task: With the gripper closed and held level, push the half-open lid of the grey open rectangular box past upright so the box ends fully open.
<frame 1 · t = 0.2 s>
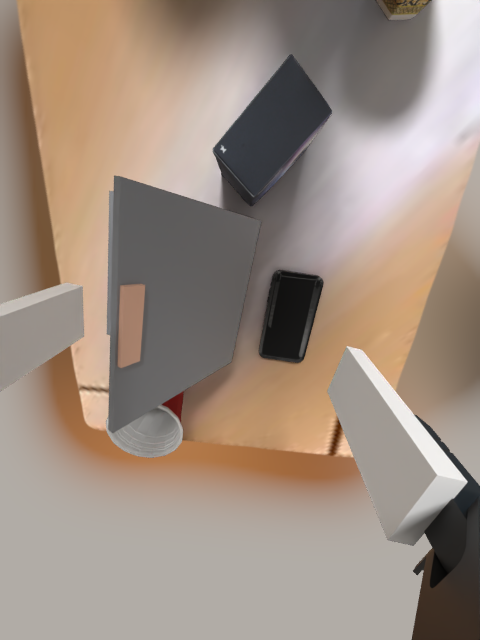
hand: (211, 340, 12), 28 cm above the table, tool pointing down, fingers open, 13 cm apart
plastic cup: (170, 383, 46), on the table
small box: (264, 161, 34), on the table
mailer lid: (198, 308, 24), point 16 cm above the table, hinge at 60.0°
grey open rectangular box: (189, 273, 39), on the table
phone: (288, 317, 41), on the table
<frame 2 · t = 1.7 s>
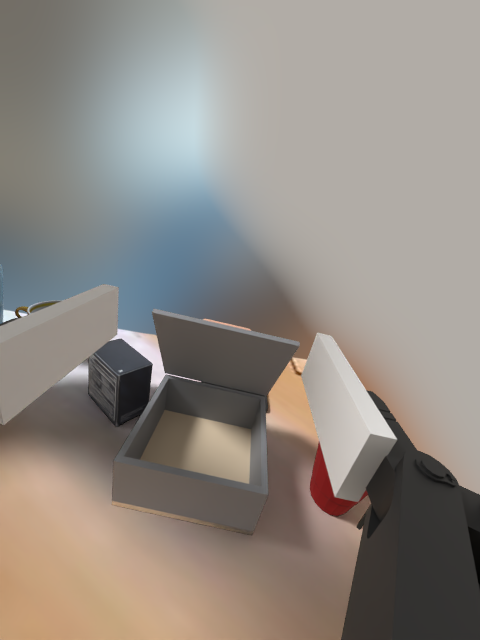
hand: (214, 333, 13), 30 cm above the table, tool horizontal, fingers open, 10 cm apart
plastic cup: (328, 495, 38), on the table
small box: (118, 402, 46), on the table
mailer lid: (220, 358, 37), point 16 cm above the table, hinge at 60.0°
grey open rectangular box: (197, 459, 39), on the table
ceramic cup: (53, 349, 56), on the table
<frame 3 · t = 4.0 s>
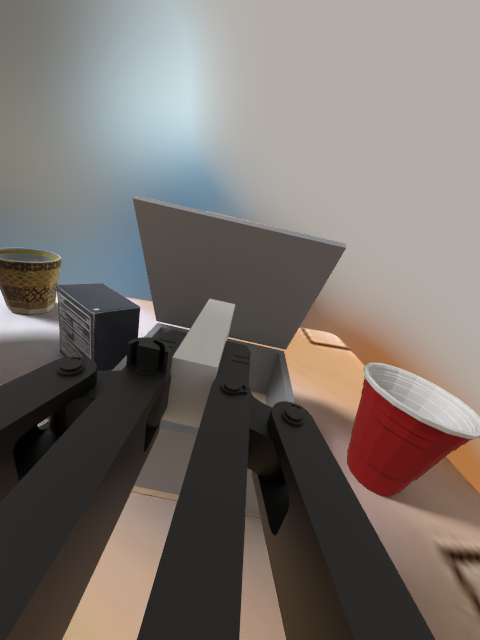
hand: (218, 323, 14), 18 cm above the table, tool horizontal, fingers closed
plastic cup: (371, 471, 29), on the table
small box: (98, 362, 37), on the table
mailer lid: (229, 289, 28), point 16 cm above the table, hinge at 60.0°
grey open rectangular box: (199, 426, 30), on the table
ceramic cup: (22, 307, 46), on the table
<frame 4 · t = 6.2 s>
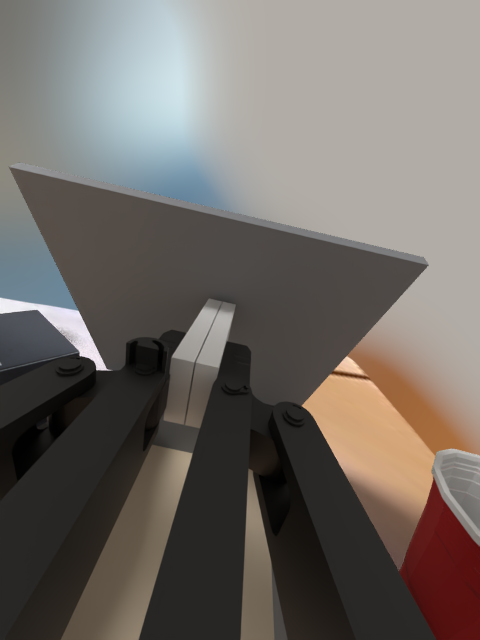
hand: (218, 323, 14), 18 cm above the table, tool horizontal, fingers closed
plastic cup: (436, 623, 18), on the table
small box: (29, 423, 26), on the table
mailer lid: (210, 330, 17), point 16 cm above the table, hinge at 63.7°, touching gripper
grey open rectangular box: (163, 548, 19), on the table
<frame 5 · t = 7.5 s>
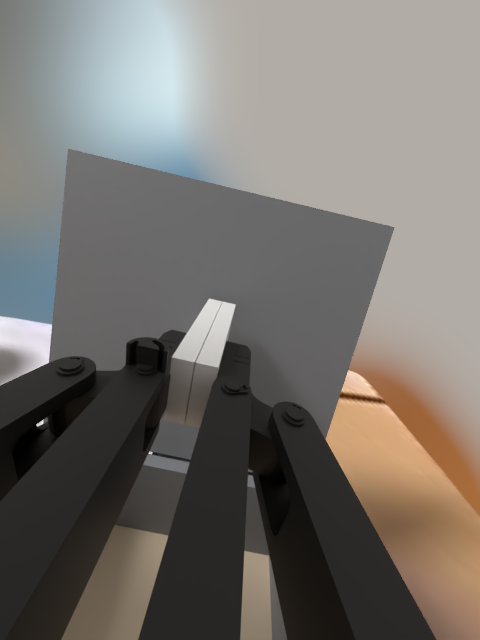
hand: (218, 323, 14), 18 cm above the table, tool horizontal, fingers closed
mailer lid: (205, 334, 16), point 17 cm above the table, hinge at 101.9°, touching gripper
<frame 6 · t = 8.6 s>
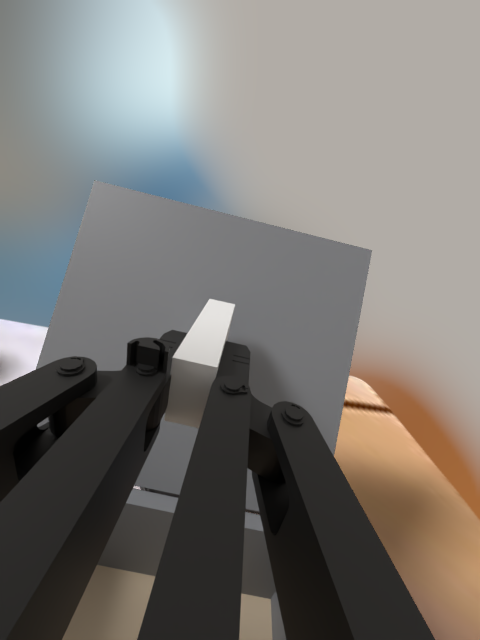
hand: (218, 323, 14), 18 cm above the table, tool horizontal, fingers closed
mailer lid: (204, 346, 16), point 16 cm above the table, hinge at 118.2°, touching gripper
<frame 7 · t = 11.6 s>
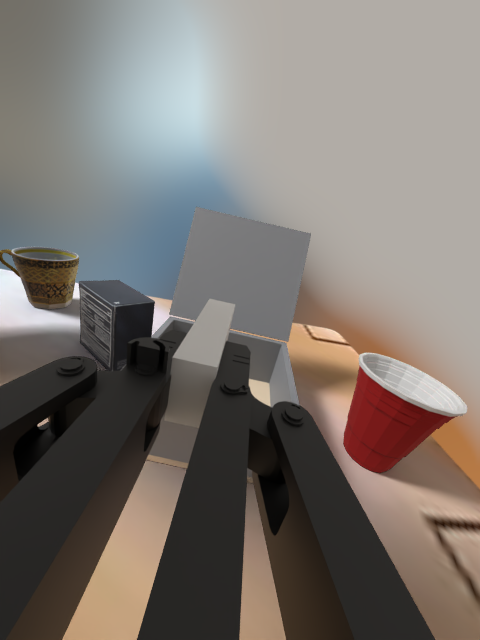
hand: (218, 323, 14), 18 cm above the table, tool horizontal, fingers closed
plastic cup: (365, 452, 32), on the table
small box: (115, 353, 40), on the table
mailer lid: (241, 274, 38), point 16 cm above the table, hinge at 116.3°
grey open rectangular box: (209, 409, 33), on the table
ceramic cup: (42, 302, 50), on the table
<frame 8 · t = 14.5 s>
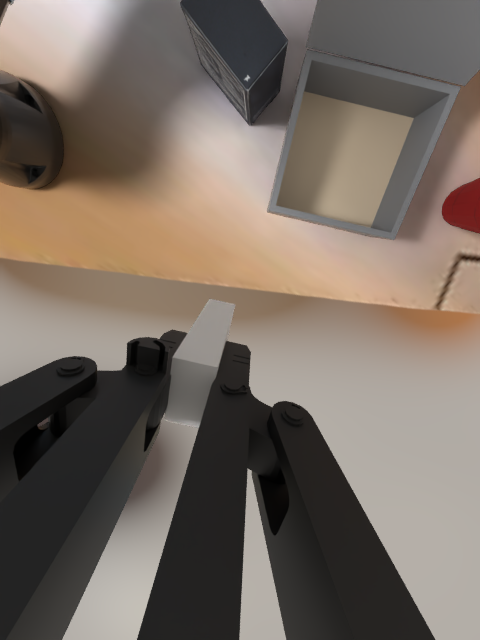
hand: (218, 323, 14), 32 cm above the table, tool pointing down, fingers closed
plastic cup: (461, 205, 40), on the table
small box: (241, 77, 36), on the table
grey open rectangular box: (336, 167, 39), on the table
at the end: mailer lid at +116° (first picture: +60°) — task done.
